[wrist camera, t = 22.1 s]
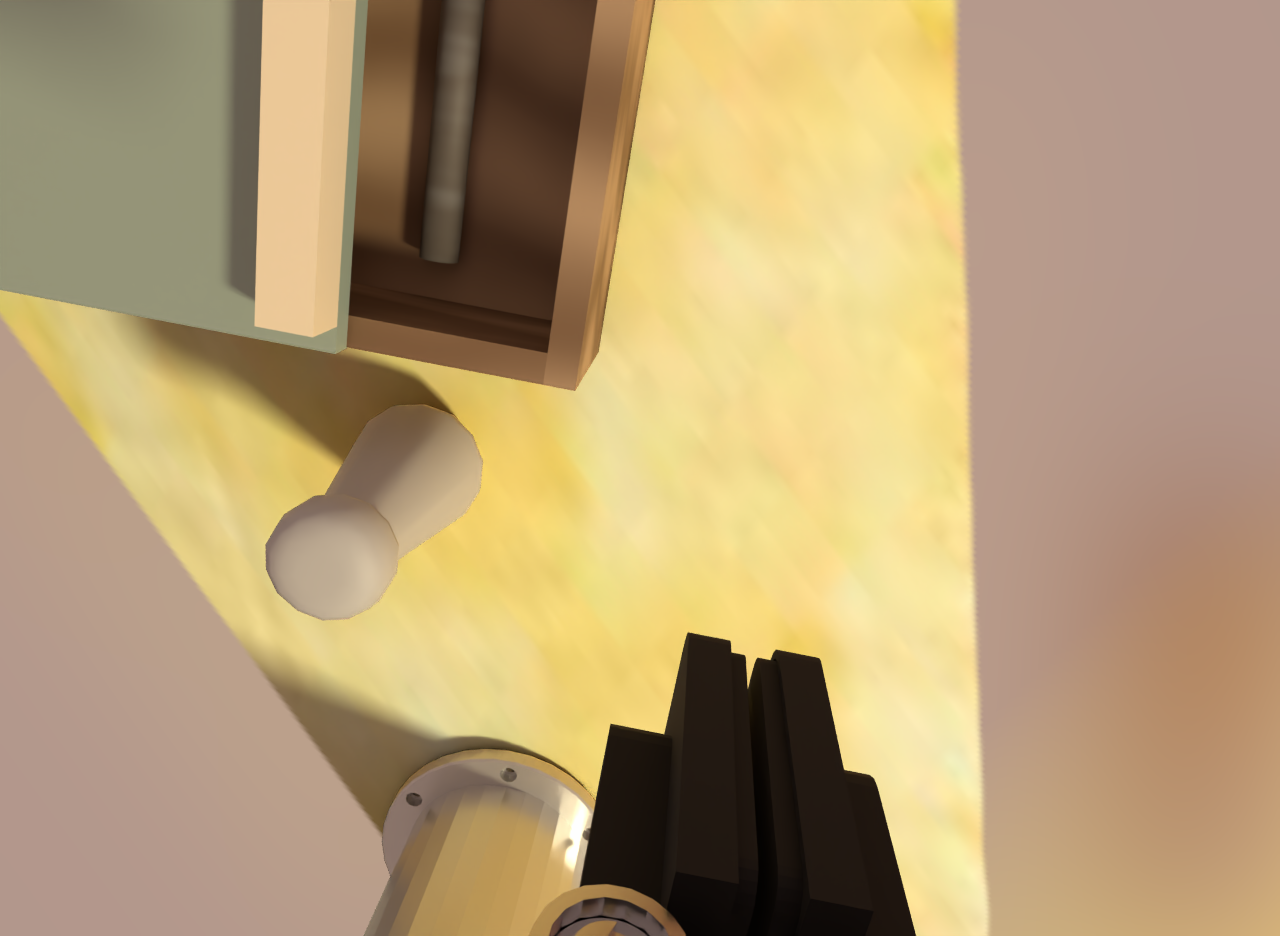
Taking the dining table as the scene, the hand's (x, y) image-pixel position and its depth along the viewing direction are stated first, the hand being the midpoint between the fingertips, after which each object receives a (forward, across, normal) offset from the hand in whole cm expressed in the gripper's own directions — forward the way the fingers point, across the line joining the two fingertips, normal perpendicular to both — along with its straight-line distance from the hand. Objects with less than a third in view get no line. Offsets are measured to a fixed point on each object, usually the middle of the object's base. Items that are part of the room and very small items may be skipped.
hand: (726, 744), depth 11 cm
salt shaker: (+29, +12, +8) cm, 33 cm away
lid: (+22, +21, -8) cm, 31 cm away
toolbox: (+29, +12, -8) cm, 32 cm away
